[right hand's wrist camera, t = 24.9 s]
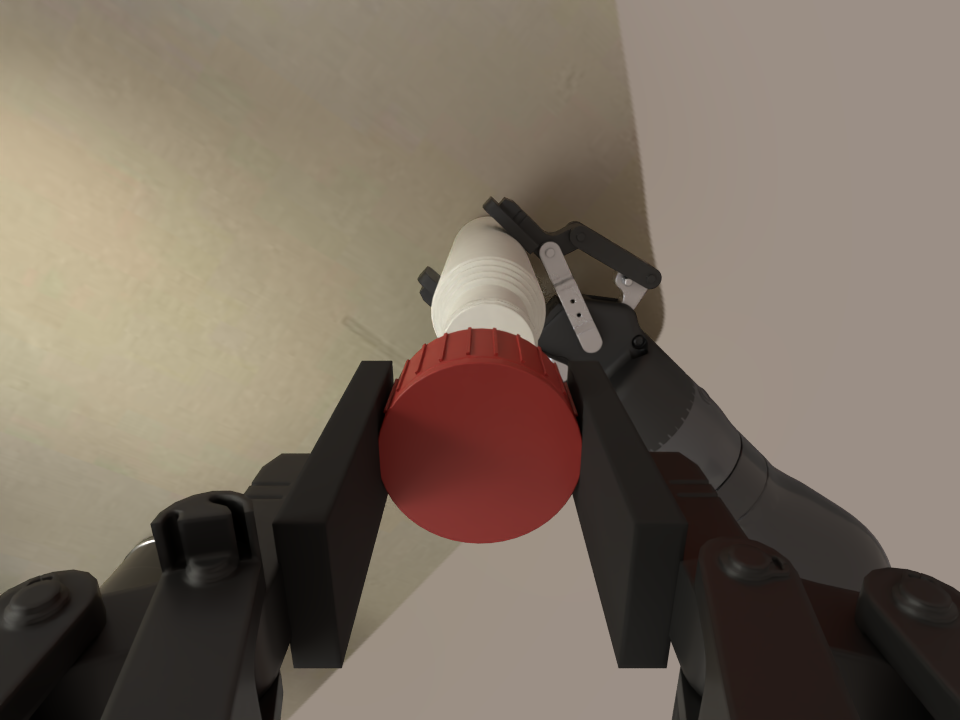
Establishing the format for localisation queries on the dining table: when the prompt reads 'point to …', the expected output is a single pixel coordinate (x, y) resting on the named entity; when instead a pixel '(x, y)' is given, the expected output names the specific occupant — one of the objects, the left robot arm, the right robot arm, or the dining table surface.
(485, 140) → the dining table surface
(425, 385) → the cap
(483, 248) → the bottle
